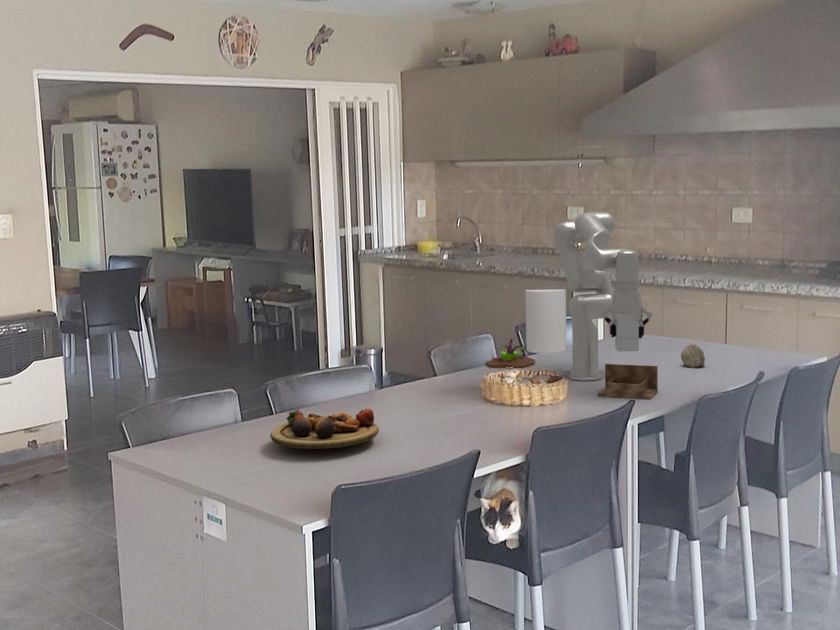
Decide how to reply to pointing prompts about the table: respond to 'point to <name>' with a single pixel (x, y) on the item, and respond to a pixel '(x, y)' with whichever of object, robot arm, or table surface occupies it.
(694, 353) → the round rough stone
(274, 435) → the wooden plate with food
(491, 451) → the table surface
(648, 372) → the walnut caddy
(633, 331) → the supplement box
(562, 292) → the cylinder
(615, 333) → the robot arm
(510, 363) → the plant
